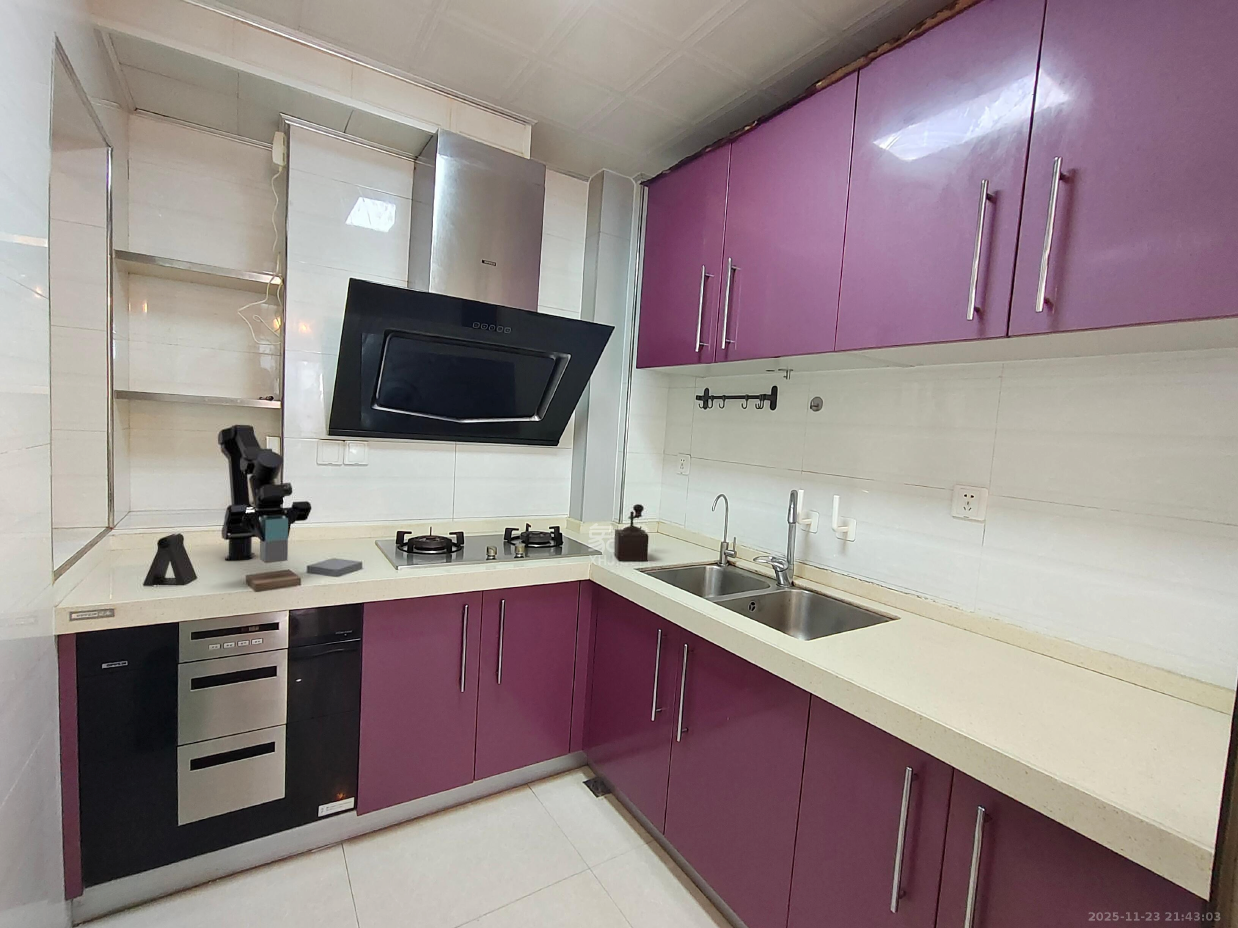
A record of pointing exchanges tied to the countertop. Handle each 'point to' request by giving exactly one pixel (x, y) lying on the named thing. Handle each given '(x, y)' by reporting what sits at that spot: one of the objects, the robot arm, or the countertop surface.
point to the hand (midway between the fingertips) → (275, 539)
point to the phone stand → (175, 554)
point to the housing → (274, 539)
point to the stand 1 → (272, 580)
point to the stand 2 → (334, 567)
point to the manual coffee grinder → (631, 540)
